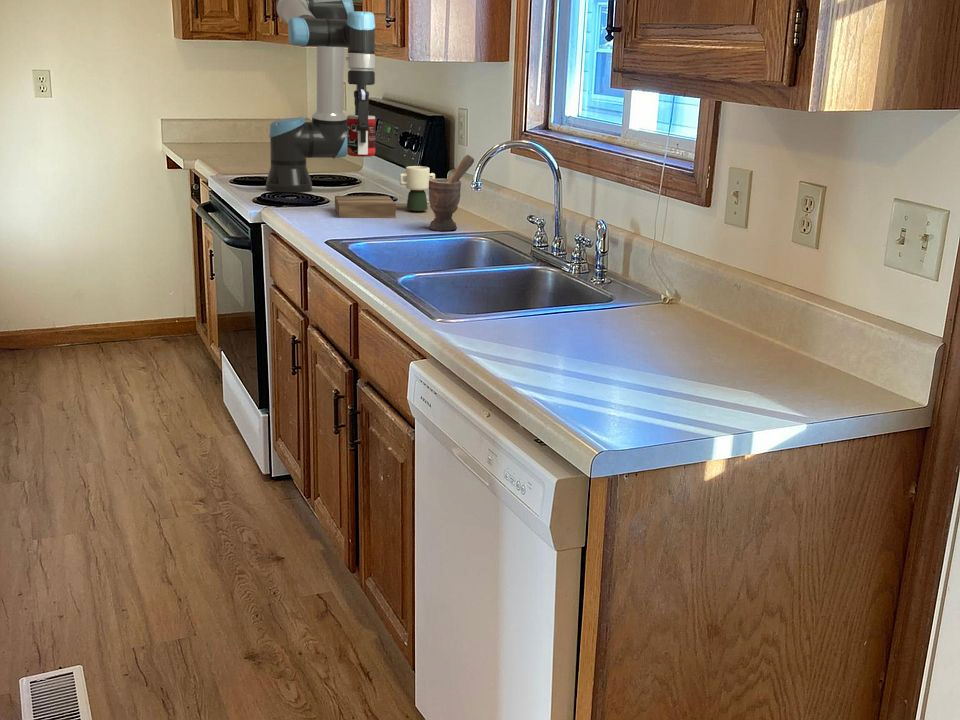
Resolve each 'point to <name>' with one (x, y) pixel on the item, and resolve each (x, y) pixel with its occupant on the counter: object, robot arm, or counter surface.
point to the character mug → (417, 186)
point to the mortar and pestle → (447, 197)
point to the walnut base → (365, 207)
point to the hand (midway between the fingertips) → (361, 152)
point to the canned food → (353, 136)
